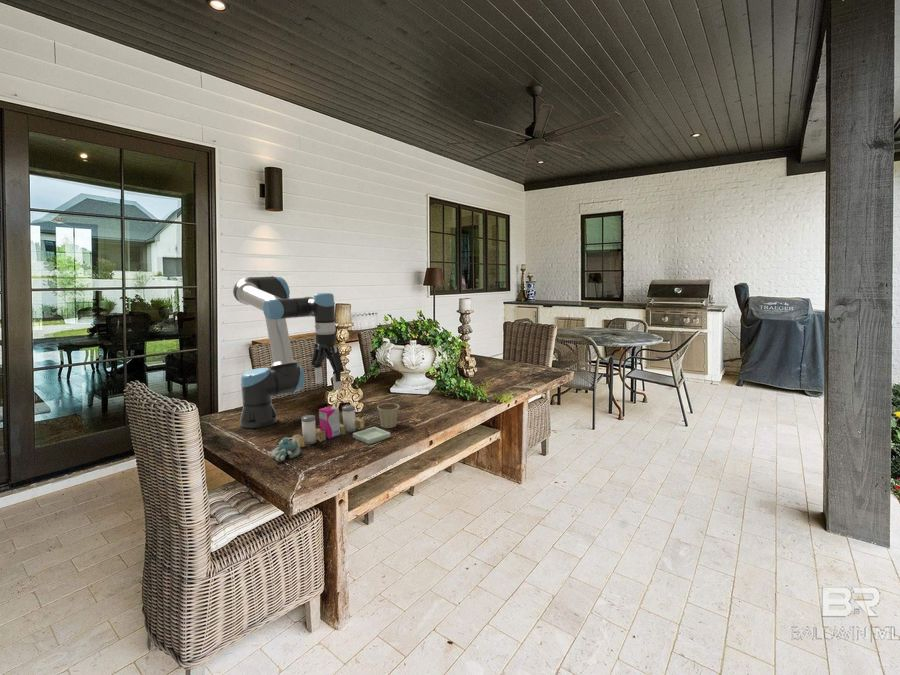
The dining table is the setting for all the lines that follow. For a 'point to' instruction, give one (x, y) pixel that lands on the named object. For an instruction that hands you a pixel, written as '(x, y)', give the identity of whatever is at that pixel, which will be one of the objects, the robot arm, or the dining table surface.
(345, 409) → the grey capped shaker
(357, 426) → the clip rail
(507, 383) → the dining table surface
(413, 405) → the dining table surface
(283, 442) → the stuffed animal
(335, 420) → the supplement box
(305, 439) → the cylinder
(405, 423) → the dining table surface
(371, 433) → the tray
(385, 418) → the flower pot
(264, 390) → the robot arm
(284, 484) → the dining table surface
